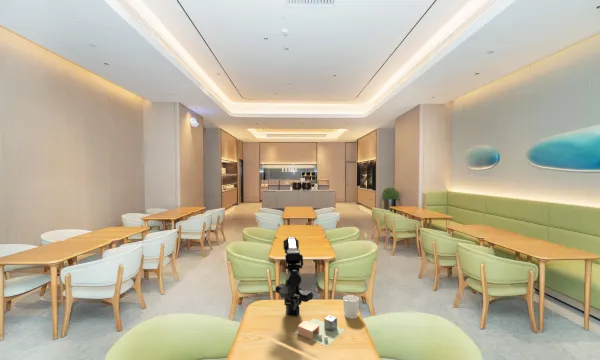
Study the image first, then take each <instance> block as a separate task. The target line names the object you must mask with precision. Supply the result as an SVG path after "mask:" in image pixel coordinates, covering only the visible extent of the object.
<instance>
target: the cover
mask: <svg viewBox="0 0 600 360" xmlns="http://www.w3.org/2000/svg"><path fill="white" fill-rule="evenodd" d="M297 330H298V334H297V335H299V334H300V335H299V336H301V335H303V336H305V337H304V338H306V337H308V338H310V339H309V340H311V339H313V332H315V333H317V334H319V325H316V324H314V323H311V322H309V321H308V320H304V321H302V322H300V323H299V324H298V325H297ZM303 336H302V337H303ZM308 338H307V339H308Z"/></svg>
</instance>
